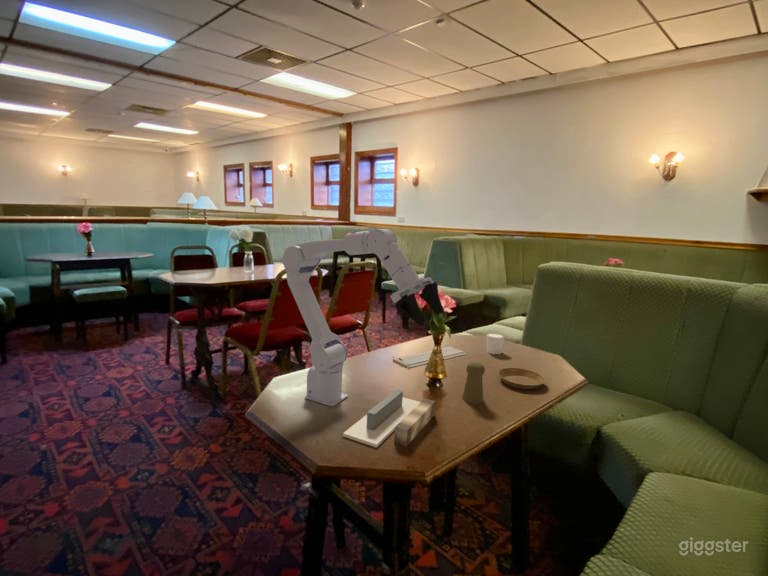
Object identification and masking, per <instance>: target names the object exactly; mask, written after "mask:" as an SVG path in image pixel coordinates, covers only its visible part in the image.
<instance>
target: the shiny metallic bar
mask: <svg viewBox="0 0 768 576" xmlns="http://www.w3.org/2000/svg"><path fill="white" fill-rule="evenodd" d="M420 402H421V403H420V404H419V405H418V406H416V407H415V408H414V409H413V410H412V411H411V412H410V413H409V414H408V415H407V416H406V417H405V418H404V419H403V420H402V421H401V422H399V423H398V424H397V425H396V426H395V430H394V437H393V439H394V440H393V443H394V444H396V445H399V446H402V447H405V448H407V447H408V446H409V444H411V442H412V441H413V440H414V439H415V438H416V437H417V436H418V434H419V433H420V432H421V431H422V429H424V428H425V426H427V424H428V423H429V422H430V421H431V420H432V419H433V418H434V416H435V411H436V400H432V399H428V398H423V399H422V400H421V401H420Z"/></svg>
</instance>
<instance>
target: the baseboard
mask: <svg viewBox="0 0 768 576" xmlns="http://www.w3.org/2000/svg"><path fill="white" fill-rule="evenodd" d="M431 352H432V350H428V351H424V352H420V353H413V354H409V355H405V356H400V357H394V358H392V362H393V363H395V364H397V365H400V366H402V367H405V368H406V369H412V368H416V367H420V365H421V366H425V365H427V364H426V363H427V361H428V359H429V357H430V354H431ZM442 353H443V358H444V360H443V361H445V360H449V359H454V358H458V357H462V356H466V355H467V353H466V352H465V351H463V350H460V349H458V348H455V347H454V346H453V347H452V346H447V347H443V348H442Z"/></svg>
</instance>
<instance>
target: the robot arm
mask: <svg viewBox="0 0 768 576" xmlns="http://www.w3.org/2000/svg"><path fill="white" fill-rule="evenodd" d="M397 242H398V238H397V235H396V234H395V232H394V231H393V230H390V229H387V228H386V229H385V228H383V229H379V228H378V229H374V228H368V229H367V230H364V231H359V230H358V229H352V230H350V232H348V233H346V234H345V235H344V236H343V238H339V239H337V238H336V239H335V238H334V239H324V240H312V241H308V242H301V243H298V244H296V245H290V246H288V247H286V248H285V250H284V253H283V255H282V259H281V262H282V265H283V268H284V269H285V273H286V281H287V285H288V287H289V289H290V292H291V294H292V296H293V298H294V301H295V303H296V305H297V307H298V310H299V312H300V314H301V317H302V319H303V322H304V324H305V326H306V328H307V330H308V332H309V336H310V337H311V343H310V345H309V347H308V350H309V352H310V358H311V359H310V360H311V364H312V365H311V366H310V368H309V369H308V372H307V375H306V395H305V396H304V398H305V399H307V400H309V401H313V402H316V403H319V404H323V405H326V406H329V407H334V406H335V405H337V404H338V403H340V402H342V401H343V400H345V399H346V398H348V394H346V393H344V392H343V390H342V389H343V370H344V369H343V367H344V365H345V363H344V362H346V361H347V359H348V357H349V349H348V348H347V345H345V343H343V342H342V340H341V338H340V336H339V335H337V334H336V333H334V332H332V331H331V329H330V326H329V324H328V322H327V320H326V317H325V315H324V313H323V310H322V308H321V307H320V304H319V302H318V300H317V297H316V295H315V293H314V292H315V291H314V290H313V288H312V285H311V284H310V282H309V281H310V278H311V276H312V275H313V273H314V272H315V270H316V269H317V268H318V266H319V265H320V264H321V261H322V258H325V255H326V253H335V252H336V253H337V252H343V251H345V253H346V254H347V255H349V256H355V255H369V254H374V255H376V256H377V258H378V259H379V261H380V262H381V263H382V266H383V267H384V268H385V270H386V271H387V273H388V274H389V276H390V278H391V279H392V281H393V282H394V284H395V285H396V287H397V288H398V290H397V291H395V292H393V293H392V294H391V295H390V296H389V297H390V299H391V300H392V303H393V304H394V307H395V308H396V309H397V310H400V311H401V312H403V313H404V314H406V315H407V316H409V318H411V319H412V321H414V322H415V323H416V324H417V325H418V326H421V325H423V324H424V323H425V322H427V319H426V317H425V315H424V314H423V311H422V310H421V309H420V307H419V305H418V304H419V303H418V301H417V299H416V295H415V294H416V293H418V292H420V291H421V292H420V293H419V294H418V297H419V298H421V299H422V300H423V301H424V302H425V303H426V304H427V305H428V306H429V308H430V309H431V311H433V314H435V315H436V316H439V315H440V314H441V313H443V312H444V307H443V305H442V302H441V299H440V295H439V286H438V283H437V281H435V282H434V280H433V278H432V277H430V276H429V277H426V278H424V277H423V276H422V277H420V276H419V275H418V273H417V272H416V270H415V269H414V267H413V266H412V264H411V262H410V261H409V259H408V258H407V257H406V255H405V254H404V252H403V251H402V250H403V249H401V248H400V246H399V245H398V243H397Z"/></svg>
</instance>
